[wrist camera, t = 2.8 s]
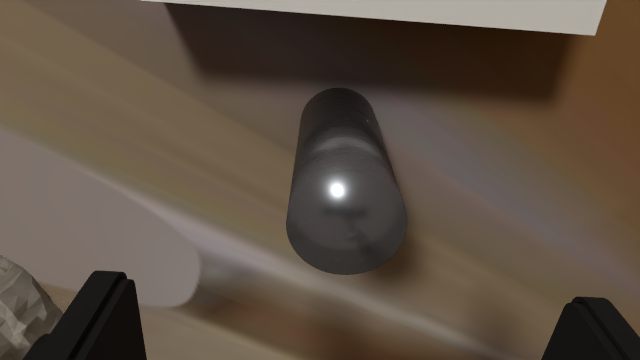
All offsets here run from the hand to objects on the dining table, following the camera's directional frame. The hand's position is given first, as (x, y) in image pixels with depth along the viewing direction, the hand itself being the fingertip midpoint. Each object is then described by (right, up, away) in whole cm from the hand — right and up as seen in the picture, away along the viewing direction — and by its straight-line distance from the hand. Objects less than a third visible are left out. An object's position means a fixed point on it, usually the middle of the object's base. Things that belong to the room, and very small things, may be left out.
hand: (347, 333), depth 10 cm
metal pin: (0, +6, +14) cm, 15 cm away
